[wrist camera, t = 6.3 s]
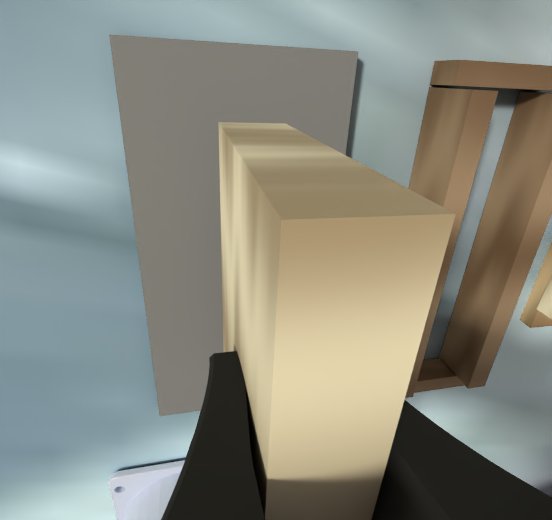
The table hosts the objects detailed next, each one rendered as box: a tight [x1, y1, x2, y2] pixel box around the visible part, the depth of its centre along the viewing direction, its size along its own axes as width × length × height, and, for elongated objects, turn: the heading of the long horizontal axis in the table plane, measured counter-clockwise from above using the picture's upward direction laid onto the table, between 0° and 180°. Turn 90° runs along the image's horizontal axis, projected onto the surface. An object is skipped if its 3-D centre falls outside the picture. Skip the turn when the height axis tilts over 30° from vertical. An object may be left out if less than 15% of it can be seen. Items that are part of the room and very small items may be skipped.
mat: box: [109, 35, 358, 416], centre depth 16 cm, size 16×8×1 cm, turn 177°
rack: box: [405, 60, 552, 398], centre depth 17 cm, size 16×5×2 cm, turn 177°
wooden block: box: [219, 122, 456, 520], centre depth 10 cm, size 12×2×8 cm, turn 177°
